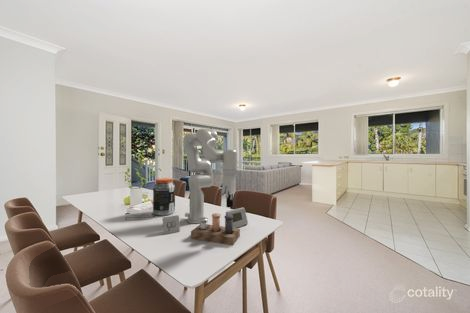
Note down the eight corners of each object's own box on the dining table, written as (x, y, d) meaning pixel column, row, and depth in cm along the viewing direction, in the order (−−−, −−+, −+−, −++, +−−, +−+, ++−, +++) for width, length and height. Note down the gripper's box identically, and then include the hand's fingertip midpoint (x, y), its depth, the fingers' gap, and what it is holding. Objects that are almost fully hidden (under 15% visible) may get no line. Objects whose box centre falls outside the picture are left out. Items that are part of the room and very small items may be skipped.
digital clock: (229, 231, 116) (229, 213, 116) (222, 226, 123) (222, 209, 123) (251, 226, 124) (251, 209, 124) (243, 221, 132) (243, 206, 132)
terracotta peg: (210, 232, 105) (210, 215, 105) (213, 228, 110) (213, 212, 110) (218, 233, 104) (218, 216, 104) (221, 229, 108) (221, 213, 108)
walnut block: (190, 238, 105) (191, 231, 105) (201, 230, 116) (201, 223, 116) (233, 245, 97) (233, 237, 97) (239, 236, 109) (239, 228, 109)
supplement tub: (179, 212, 149) (179, 179, 148) (159, 217, 137) (159, 181, 136) (168, 208, 159) (168, 177, 159) (149, 213, 147) (149, 179, 147)
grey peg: (197, 236, 108) (197, 219, 107) (201, 232, 112) (201, 217, 112) (205, 237, 106) (205, 221, 106) (209, 233, 111) (209, 218, 110)
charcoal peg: (223, 233, 103) (223, 217, 103) (226, 230, 108) (226, 214, 107) (231, 235, 101) (231, 218, 101) (234, 231, 106) (234, 215, 106)
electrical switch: (163, 235, 109) (163, 218, 109) (161, 232, 113) (161, 216, 114) (180, 231, 114) (179, 215, 114) (177, 229, 118) (177, 214, 119)
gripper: (227, 171, 112) (227, 203, 112) (217, 173, 98) (217, 210, 98) (240, 171, 110) (240, 204, 110) (232, 174, 96) (232, 211, 96)
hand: (229, 206), depth 104 cm, fingers closed
